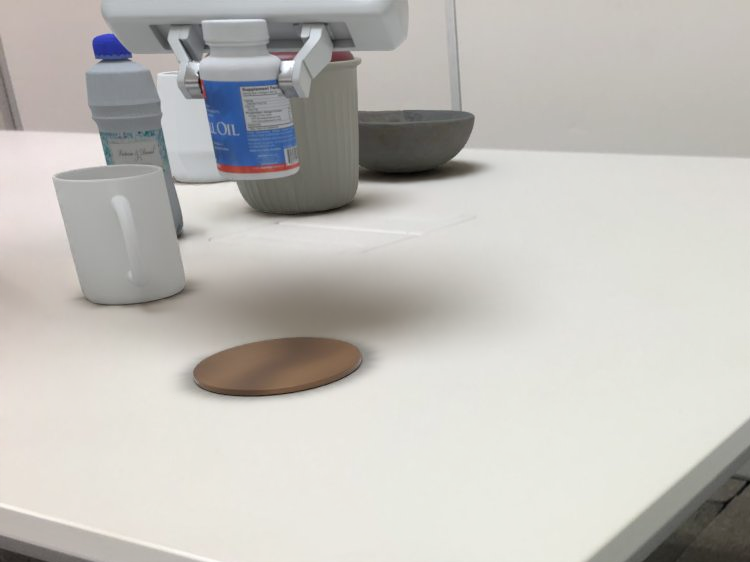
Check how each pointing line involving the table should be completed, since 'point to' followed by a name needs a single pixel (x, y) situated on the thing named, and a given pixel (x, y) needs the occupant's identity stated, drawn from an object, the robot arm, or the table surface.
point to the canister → (317, 145)
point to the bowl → (411, 138)
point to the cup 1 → (121, 232)
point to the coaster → (277, 366)
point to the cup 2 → (186, 133)
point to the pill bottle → (246, 102)
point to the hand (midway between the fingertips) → (243, 92)
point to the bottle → (128, 113)
